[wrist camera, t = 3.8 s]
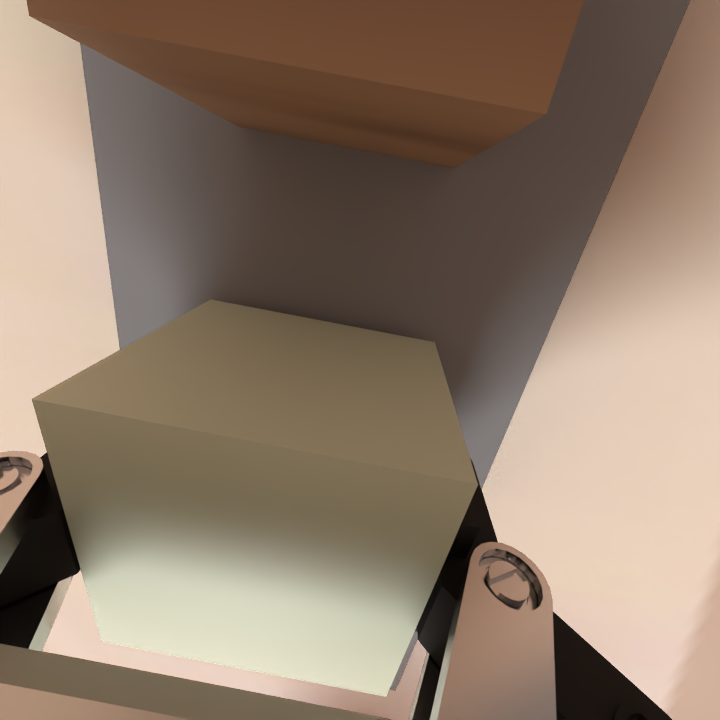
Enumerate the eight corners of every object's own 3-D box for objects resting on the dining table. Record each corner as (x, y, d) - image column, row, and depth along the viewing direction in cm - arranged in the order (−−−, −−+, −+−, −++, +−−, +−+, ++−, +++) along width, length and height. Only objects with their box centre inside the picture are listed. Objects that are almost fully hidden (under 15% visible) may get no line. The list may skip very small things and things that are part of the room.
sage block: (210, 299, 9) (32, 399, 5) (434, 342, 9) (478, 485, 5) (213, 470, 12) (101, 641, 7) (388, 503, 12) (386, 696, 7)
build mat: (56, -281, 6) (28, -323, 5) (742, -152, 6) (772, -183, 5) (162, 636, 17) (156, 647, 17) (395, 680, 17) (395, 693, 17)
